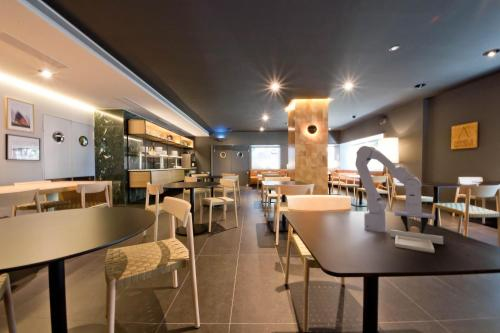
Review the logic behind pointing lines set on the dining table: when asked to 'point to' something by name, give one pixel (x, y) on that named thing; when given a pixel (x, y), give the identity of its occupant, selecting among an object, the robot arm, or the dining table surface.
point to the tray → (414, 244)
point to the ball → (414, 229)
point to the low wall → (418, 236)
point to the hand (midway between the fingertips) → (414, 233)
